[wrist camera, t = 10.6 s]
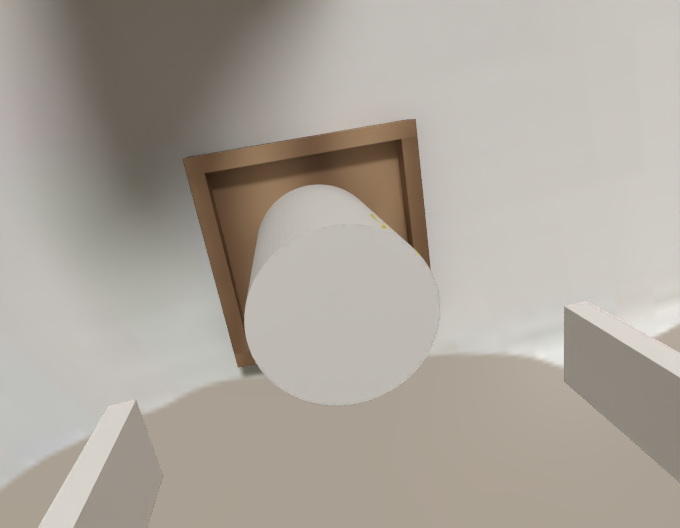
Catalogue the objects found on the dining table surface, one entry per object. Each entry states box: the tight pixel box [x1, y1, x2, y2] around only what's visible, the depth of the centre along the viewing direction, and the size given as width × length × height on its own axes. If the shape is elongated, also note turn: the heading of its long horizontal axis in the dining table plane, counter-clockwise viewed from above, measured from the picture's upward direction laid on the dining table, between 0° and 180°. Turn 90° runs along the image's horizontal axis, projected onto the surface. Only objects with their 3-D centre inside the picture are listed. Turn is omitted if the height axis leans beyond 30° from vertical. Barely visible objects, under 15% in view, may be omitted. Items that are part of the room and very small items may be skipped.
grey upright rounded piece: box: [244, 185, 440, 406], centre depth 24 cm, size 8×8×12 cm
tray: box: [183, 119, 431, 367], centre depth 29 cm, size 14×14×2 cm
